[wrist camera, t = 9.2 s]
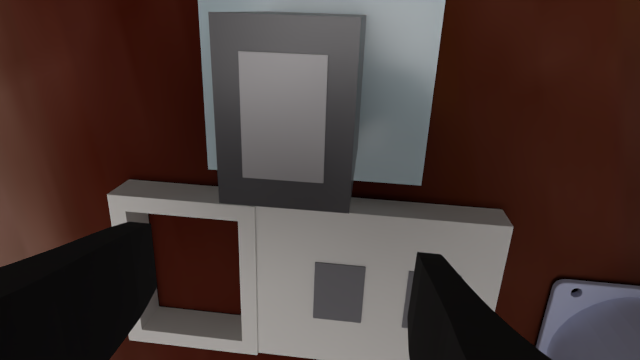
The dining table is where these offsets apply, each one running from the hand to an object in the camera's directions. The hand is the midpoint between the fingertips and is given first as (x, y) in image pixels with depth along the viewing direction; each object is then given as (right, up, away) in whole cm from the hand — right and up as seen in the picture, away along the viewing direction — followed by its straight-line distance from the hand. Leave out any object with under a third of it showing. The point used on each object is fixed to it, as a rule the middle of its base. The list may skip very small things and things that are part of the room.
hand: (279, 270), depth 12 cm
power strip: (0, -2, +12) cm, 12 cm away
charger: (+1, +7, +7) cm, 10 cm away
